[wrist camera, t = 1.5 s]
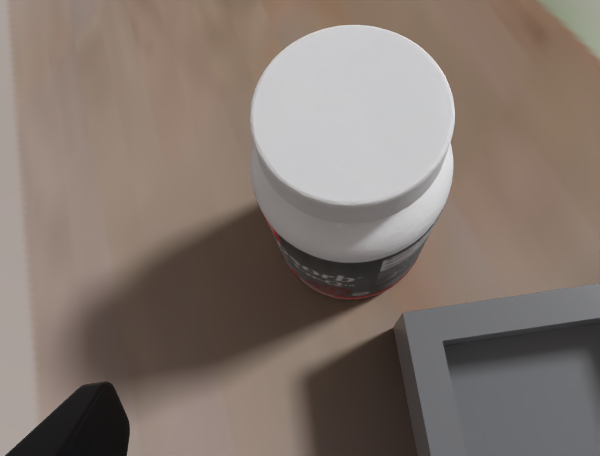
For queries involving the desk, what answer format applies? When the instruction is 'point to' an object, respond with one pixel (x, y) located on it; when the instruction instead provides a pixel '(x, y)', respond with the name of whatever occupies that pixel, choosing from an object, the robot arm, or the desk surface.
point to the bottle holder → (505, 375)
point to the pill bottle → (351, 156)
